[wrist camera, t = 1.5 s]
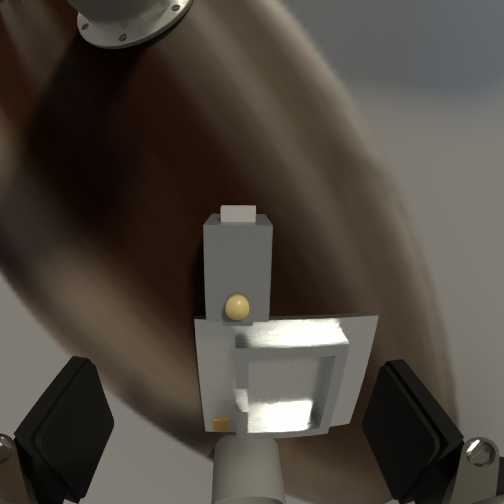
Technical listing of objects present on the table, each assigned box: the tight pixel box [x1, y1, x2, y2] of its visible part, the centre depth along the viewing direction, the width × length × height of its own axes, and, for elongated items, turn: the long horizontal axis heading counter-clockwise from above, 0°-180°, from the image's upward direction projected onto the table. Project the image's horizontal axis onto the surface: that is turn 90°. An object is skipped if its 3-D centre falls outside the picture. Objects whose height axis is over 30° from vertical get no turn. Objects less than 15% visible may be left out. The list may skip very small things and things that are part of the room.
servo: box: [203, 205, 273, 326], centre depth 22 cm, size 9×4×7 cm, turn 179°
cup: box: [211, 433, 286, 504], centre depth 27 cm, size 8×8×10 cm
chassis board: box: [194, 312, 379, 439], centre depth 28 cm, size 16×18×3 cm
